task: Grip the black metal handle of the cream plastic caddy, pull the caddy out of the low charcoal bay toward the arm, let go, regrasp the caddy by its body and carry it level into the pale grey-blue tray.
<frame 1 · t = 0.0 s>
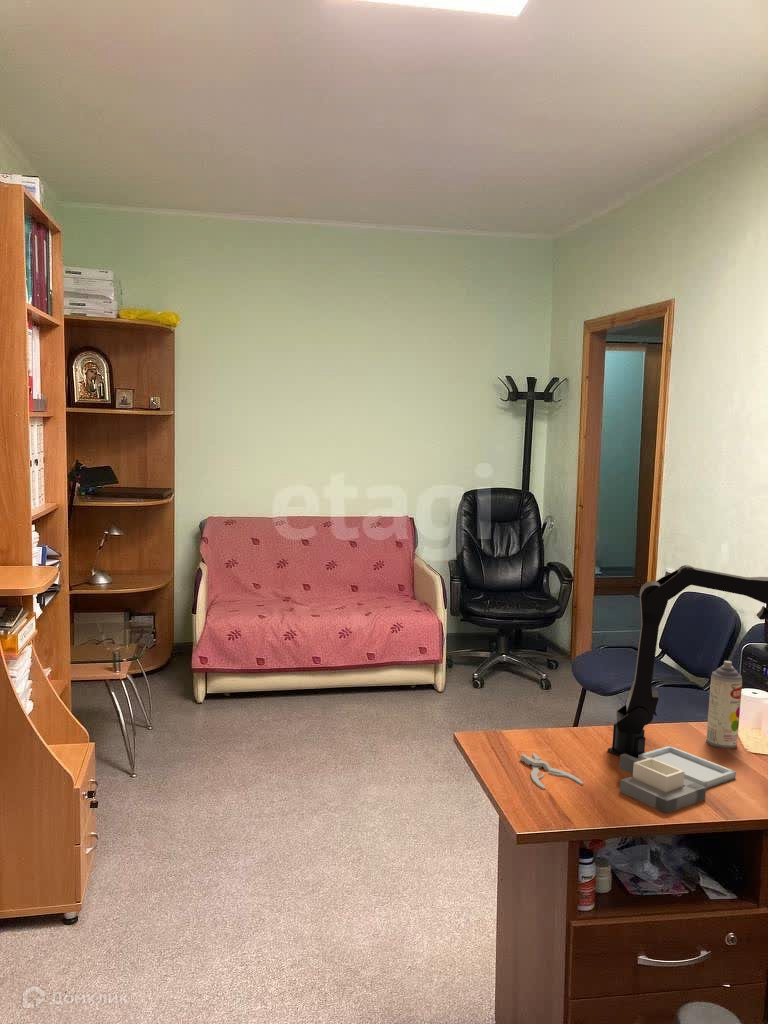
caddy: (647, 775, 165), in the bay
aerosol can: (721, 744, 193), on the table
bay: (656, 793, 163), on the table
tray: (685, 769, 176), on the table
pliers: (544, 775, 171), on the table
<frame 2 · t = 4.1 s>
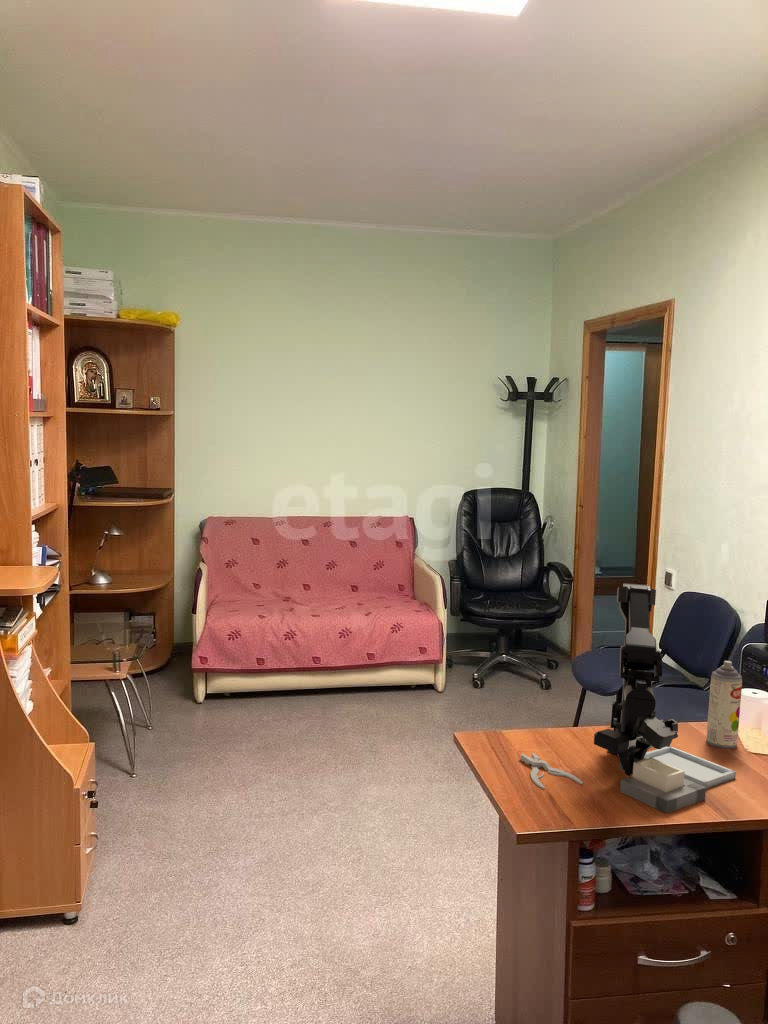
hand: (631, 774, 168), 2 cm above the table, tool pointing down, fingers closed on caddy
caddy: (647, 775, 165), in the bay, touching gripper
everything else where it was.
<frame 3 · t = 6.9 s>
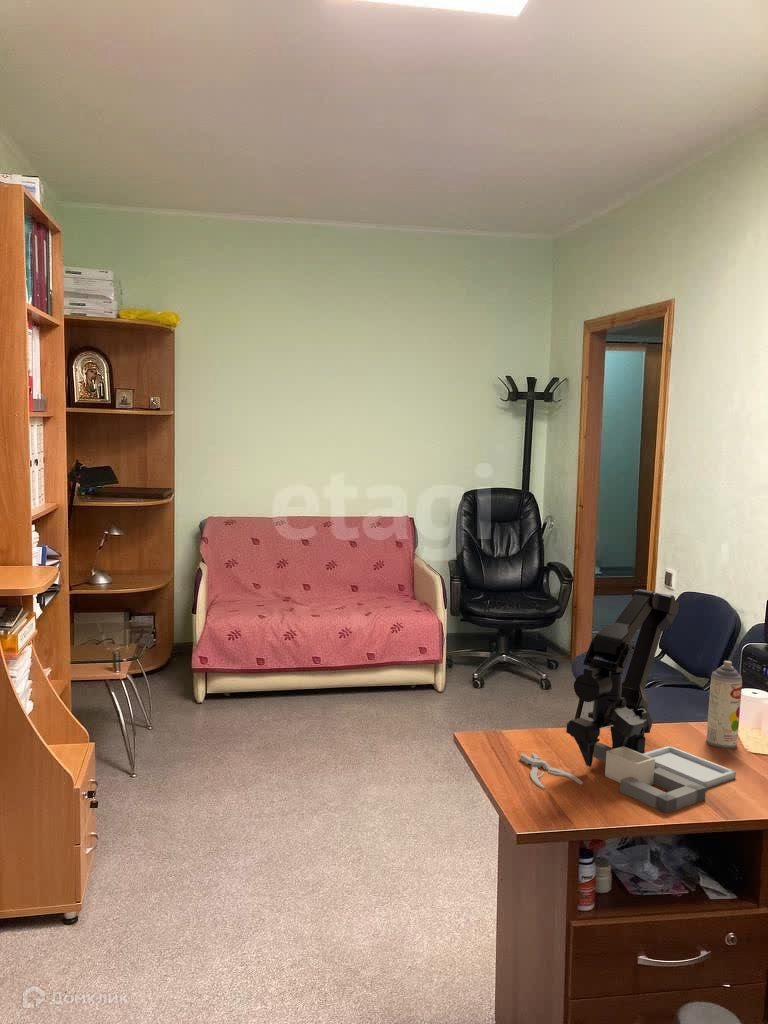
hand: (603, 761, 174), 1 cm above the table, tool pointing down, fingers open, 9 cm apart
caddy: (619, 763, 171), on the table
everything else where it was.
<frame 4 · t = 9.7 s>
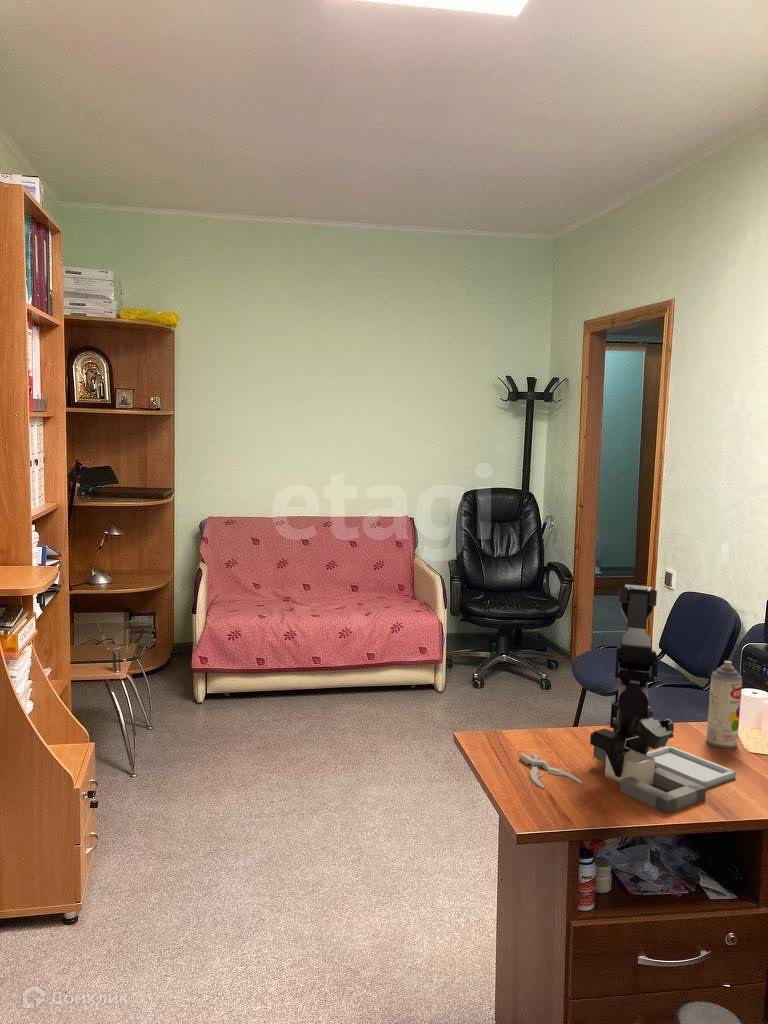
hand: (627, 773, 169), 1 cm above the table, tool pointing down, fingers closed on caddy, 6 cm apart
caddy: (619, 763, 171), on the table, touching gripper
everything else where it was.
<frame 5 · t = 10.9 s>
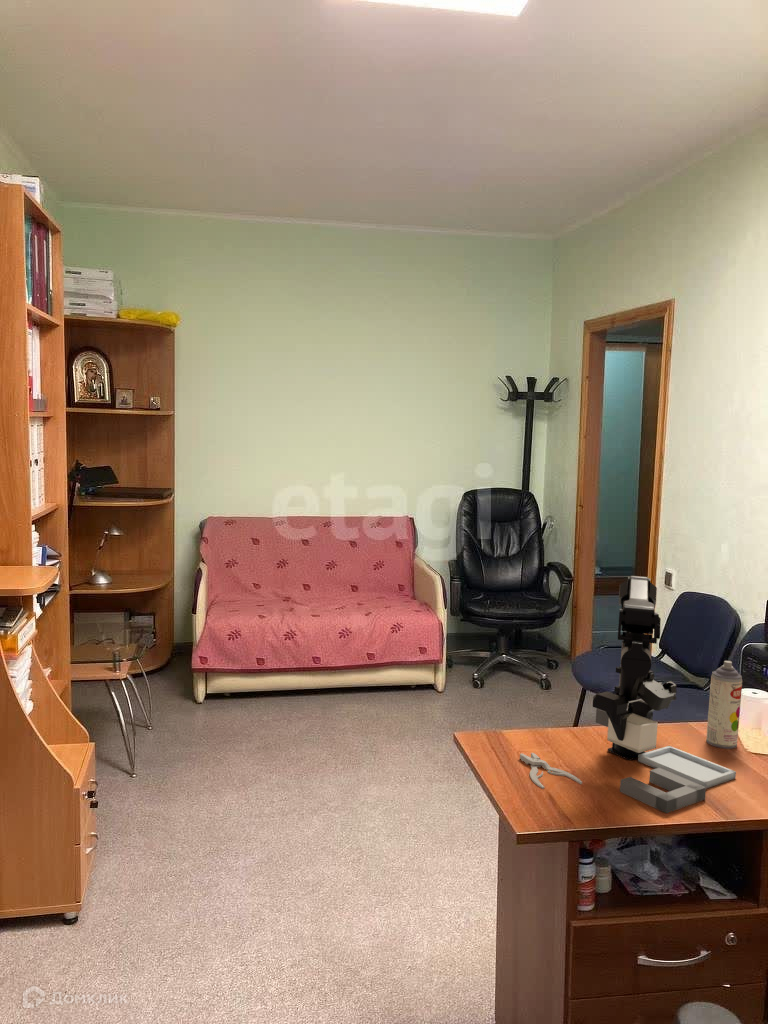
hand: (629, 737, 168), 9 cm above the table, tool pointing down, fingers closed on caddy, 6 cm apart
caddy: (622, 727, 170), point 11 cm above the table, touching gripper
everything else where it was.
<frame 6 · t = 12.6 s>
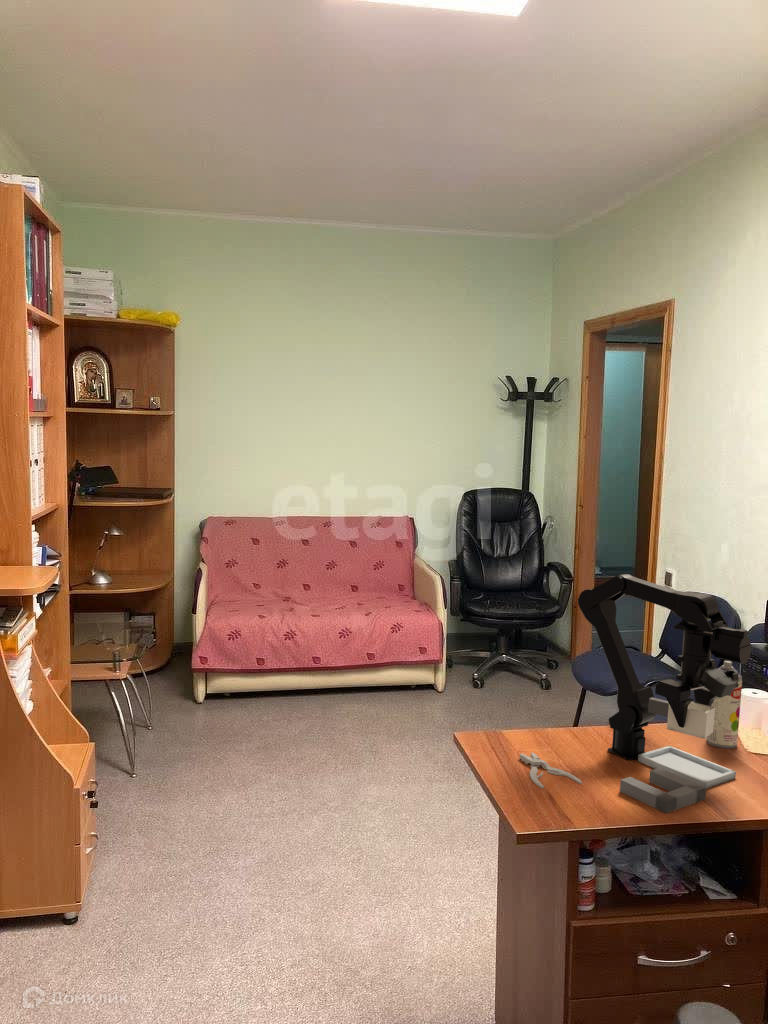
hand: (691, 724, 172), 11 cm above the table, tool pointing down, fingers closed on caddy, 6 cm apart
caddy: (679, 715, 174), point 12 cm above the table, touching gripper
everything else where it was.
when the fingers open (3 cm above the table, at t = 15.3 s): caddy drops 1 cm, resting on tray.
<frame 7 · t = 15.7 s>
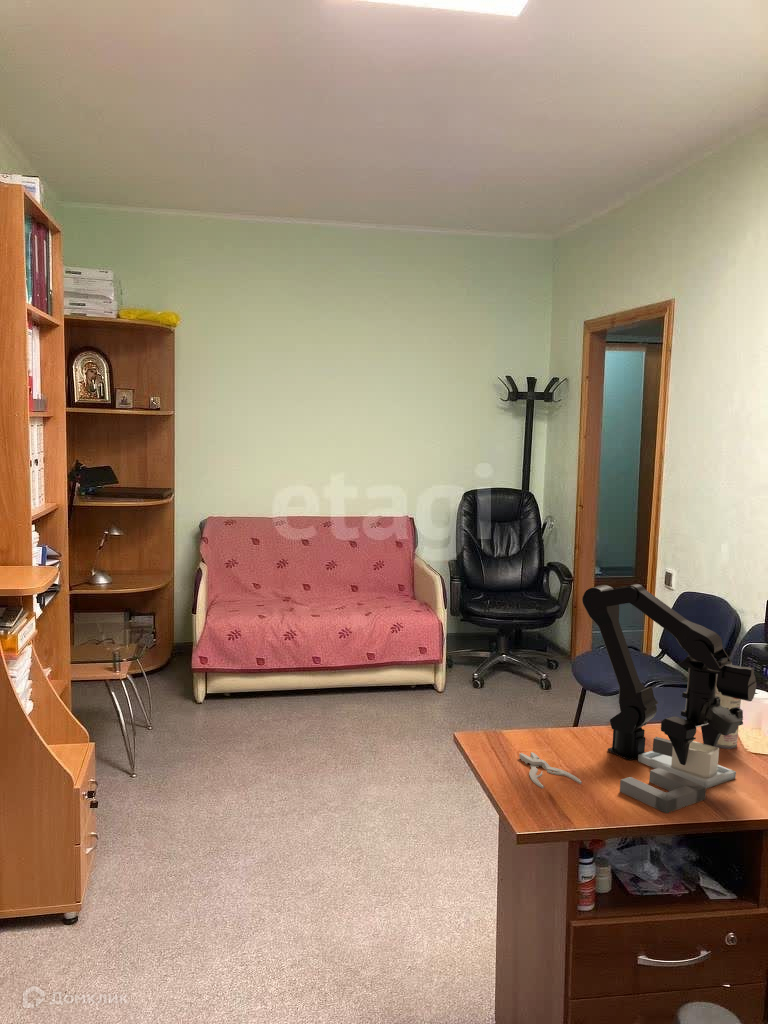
hand: (695, 760, 174), 3 cm above the table, tool pointing down, fingers open, 9 cm apart
caddy: (683, 755, 175), in the tray
everything else where it was.
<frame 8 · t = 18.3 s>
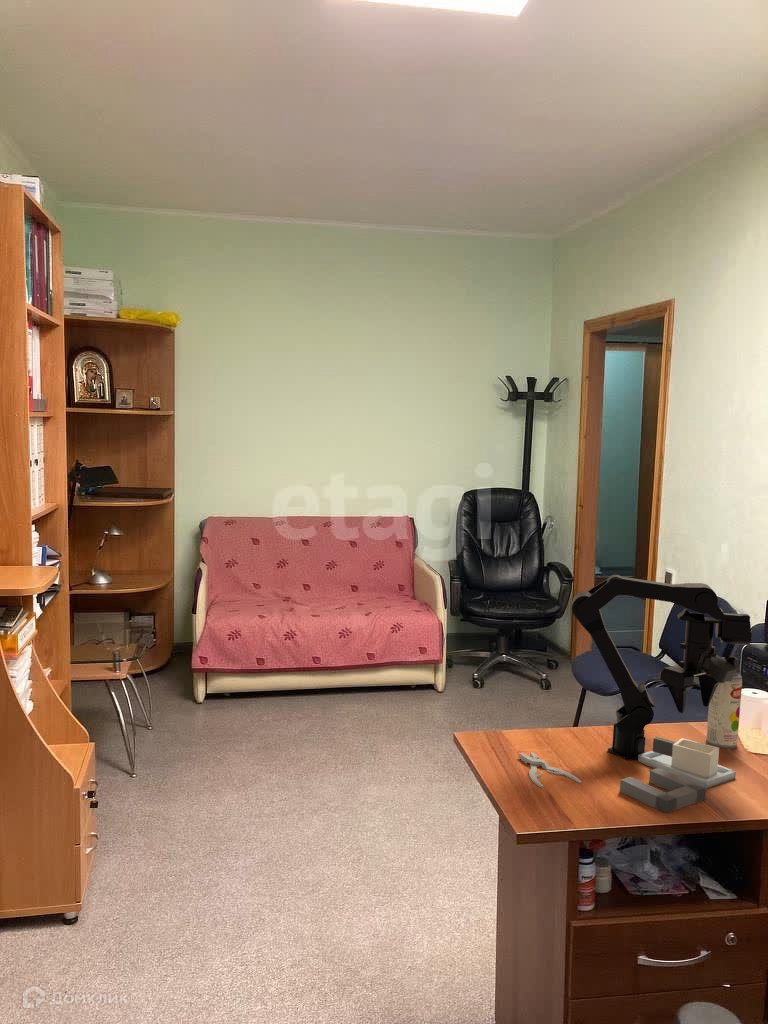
hand: (693, 709, 179), 12 cm above the table, tool pointing down, fingers open, 9 cm apart
nothing on the table moved.
at the end: caddy 0.2 cm from the target spot on the tray, point 3.2 cm above the tray's base; caddy tilted 0°; the gripper is holding nothing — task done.
